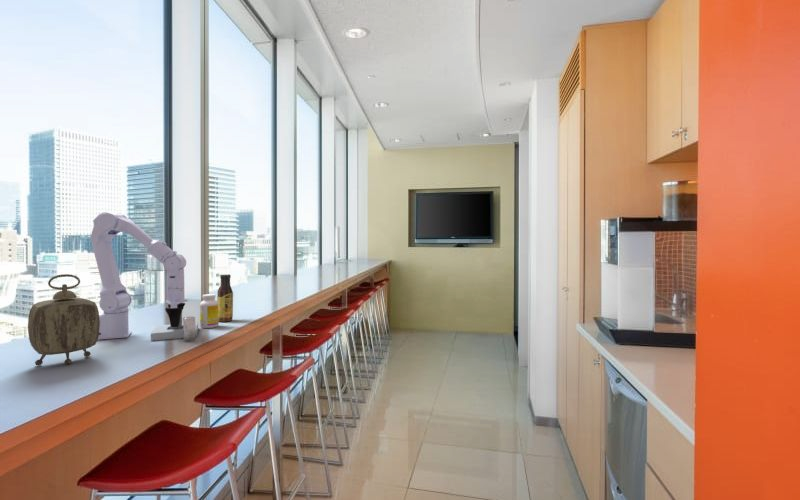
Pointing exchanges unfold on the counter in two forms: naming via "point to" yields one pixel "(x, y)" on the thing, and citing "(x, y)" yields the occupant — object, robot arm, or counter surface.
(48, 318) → the tabletop clock
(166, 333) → the bore block
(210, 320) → the supplement bottle
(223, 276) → the sauce bottle
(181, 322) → the square bit
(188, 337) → the round bit
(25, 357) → the counter surface
